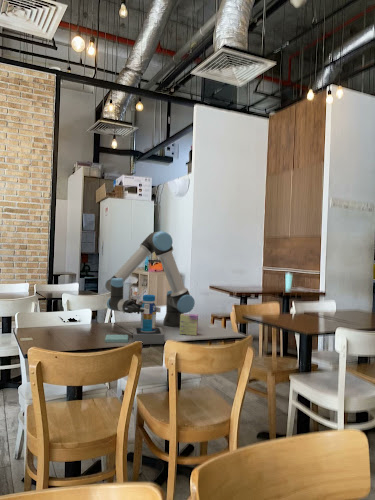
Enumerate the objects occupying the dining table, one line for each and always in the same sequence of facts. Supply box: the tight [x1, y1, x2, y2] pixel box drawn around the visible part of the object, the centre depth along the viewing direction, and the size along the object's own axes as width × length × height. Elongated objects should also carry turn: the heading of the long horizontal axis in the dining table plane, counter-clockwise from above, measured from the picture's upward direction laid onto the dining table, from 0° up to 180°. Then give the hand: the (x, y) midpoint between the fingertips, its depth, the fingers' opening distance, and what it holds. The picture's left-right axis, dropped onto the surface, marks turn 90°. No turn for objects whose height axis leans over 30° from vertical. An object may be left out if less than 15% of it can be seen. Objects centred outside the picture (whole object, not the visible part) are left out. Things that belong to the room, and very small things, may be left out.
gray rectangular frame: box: [132, 326, 165, 345], centre depth 222 cm, size 16×20×5 cm
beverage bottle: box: [140, 294, 157, 333], centre depth 222 cm, size 8×8×20 cm
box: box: [179, 313, 199, 336], centre depth 241 cm, size 10×6×12 cm, turn 84°
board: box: [104, 334, 129, 343], centre depth 220 cm, size 12×12×2 cm
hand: (154, 310), depth 219 cm, fingers closed on beverage bottle, 8 cm apart
